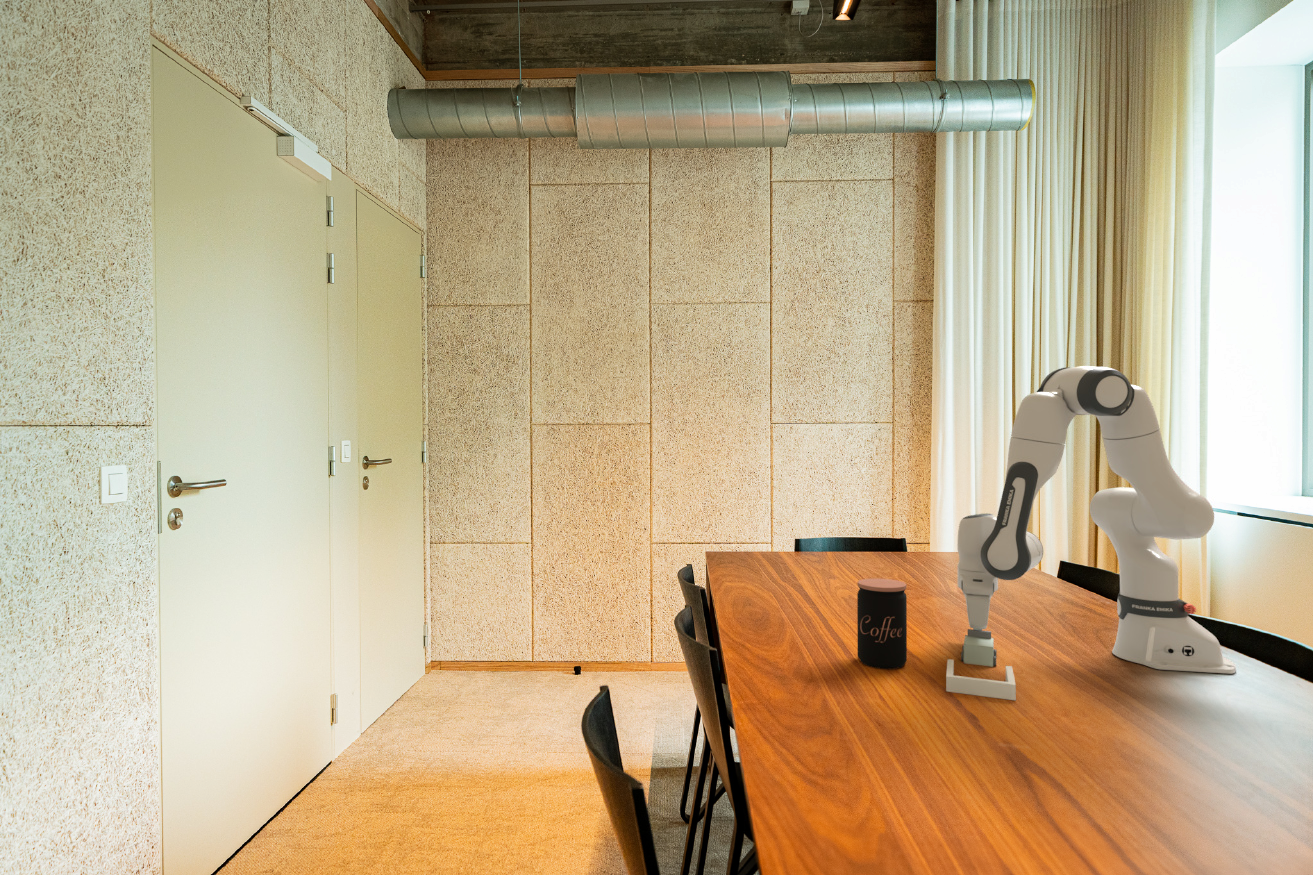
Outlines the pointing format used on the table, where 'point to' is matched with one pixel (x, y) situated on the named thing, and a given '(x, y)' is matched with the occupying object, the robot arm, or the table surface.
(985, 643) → the sage cart
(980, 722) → the table surface
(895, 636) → the coffee jar
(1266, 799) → the table surface
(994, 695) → the dock bay
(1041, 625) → the table surface
